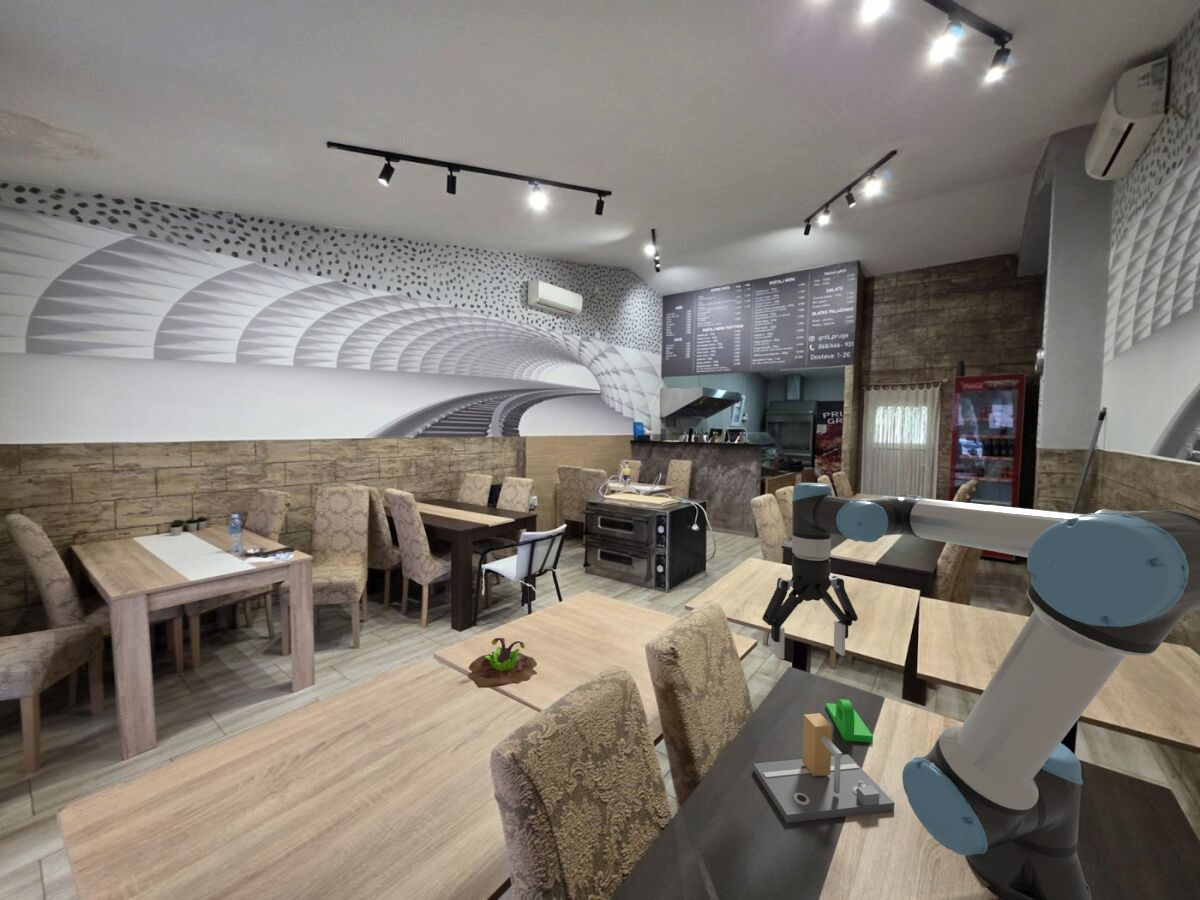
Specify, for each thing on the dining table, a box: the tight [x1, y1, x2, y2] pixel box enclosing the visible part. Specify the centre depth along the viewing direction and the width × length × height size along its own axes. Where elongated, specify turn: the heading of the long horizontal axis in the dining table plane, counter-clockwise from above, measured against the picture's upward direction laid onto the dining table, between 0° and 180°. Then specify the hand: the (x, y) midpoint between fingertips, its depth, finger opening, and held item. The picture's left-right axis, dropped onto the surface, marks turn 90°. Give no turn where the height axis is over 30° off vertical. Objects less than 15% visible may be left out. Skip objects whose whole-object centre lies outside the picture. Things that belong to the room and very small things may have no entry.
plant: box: [467, 637, 538, 689], centre depth 135 cm, size 20×20×11 cm
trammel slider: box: [802, 712, 843, 793], centre depth 93 cm, size 9×4×10 cm, turn 8°
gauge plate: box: [753, 754, 895, 824], centre depth 93 cm, size 13×21×4 cm, turn 98°
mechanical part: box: [825, 698, 874, 743], centre depth 112 cm, size 12×6×8 cm, turn 173°
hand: (809, 654), depth 102 cm, fingers open, 13 cm apart
